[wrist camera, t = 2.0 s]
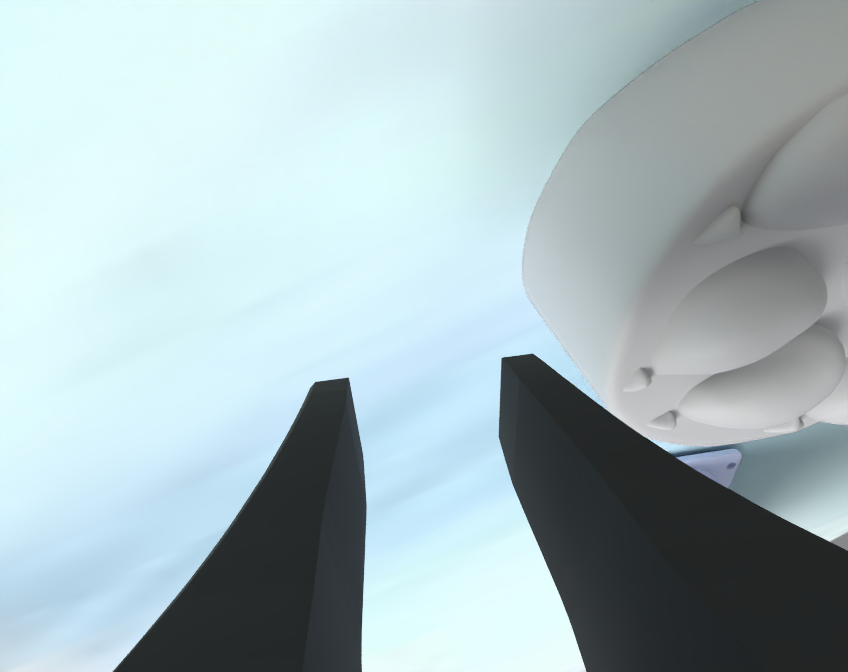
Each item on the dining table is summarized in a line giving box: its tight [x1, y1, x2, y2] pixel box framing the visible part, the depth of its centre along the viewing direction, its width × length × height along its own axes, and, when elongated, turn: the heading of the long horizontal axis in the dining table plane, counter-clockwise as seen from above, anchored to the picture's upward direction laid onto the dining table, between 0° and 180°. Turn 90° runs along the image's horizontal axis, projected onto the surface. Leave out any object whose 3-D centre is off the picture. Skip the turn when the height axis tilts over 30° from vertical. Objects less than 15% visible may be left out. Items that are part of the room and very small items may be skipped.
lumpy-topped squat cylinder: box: [522, 0, 848, 446], centre depth 14 cm, size 10×13×9 cm
